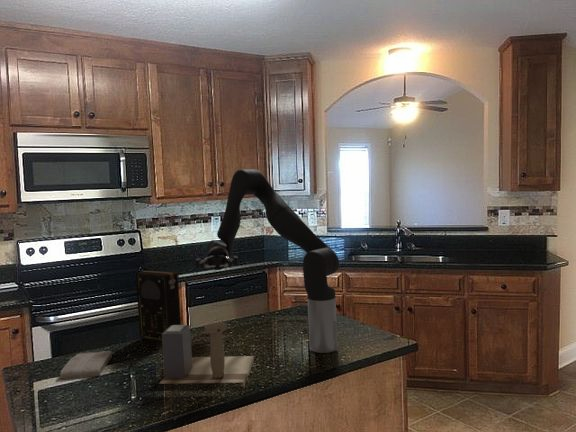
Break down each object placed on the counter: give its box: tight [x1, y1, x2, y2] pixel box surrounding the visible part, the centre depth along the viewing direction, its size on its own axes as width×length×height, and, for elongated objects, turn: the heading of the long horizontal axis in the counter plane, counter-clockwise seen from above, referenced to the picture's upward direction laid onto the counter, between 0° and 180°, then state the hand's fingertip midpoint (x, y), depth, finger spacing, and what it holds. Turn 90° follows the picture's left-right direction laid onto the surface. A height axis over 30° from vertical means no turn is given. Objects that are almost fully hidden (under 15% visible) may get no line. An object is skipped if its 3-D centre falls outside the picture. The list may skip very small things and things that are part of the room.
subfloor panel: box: [158, 355, 255, 387], centre depth 146 cm, size 24×20×1 cm
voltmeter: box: [135, 270, 182, 343], centre depth 180 cm, size 16×9×25 cm, turn 60°
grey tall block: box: [161, 324, 193, 378], centre depth 144 cm, size 6×8×14 cm
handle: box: [203, 321, 228, 378], centre depth 139 cm, size 5×6×15 cm
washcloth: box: [59, 350, 113, 380], centre depth 155 cm, size 12×18×3 cm, turn 9°
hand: (216, 265), depth 159 cm, fingers open, 8 cm apart
